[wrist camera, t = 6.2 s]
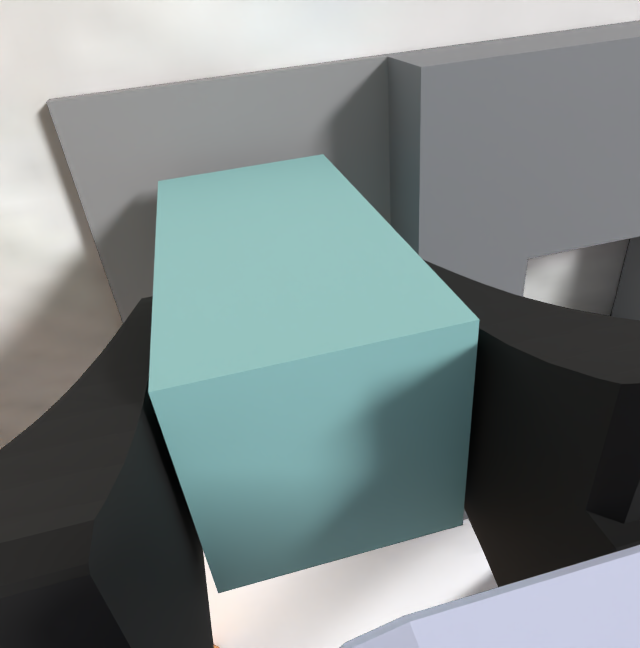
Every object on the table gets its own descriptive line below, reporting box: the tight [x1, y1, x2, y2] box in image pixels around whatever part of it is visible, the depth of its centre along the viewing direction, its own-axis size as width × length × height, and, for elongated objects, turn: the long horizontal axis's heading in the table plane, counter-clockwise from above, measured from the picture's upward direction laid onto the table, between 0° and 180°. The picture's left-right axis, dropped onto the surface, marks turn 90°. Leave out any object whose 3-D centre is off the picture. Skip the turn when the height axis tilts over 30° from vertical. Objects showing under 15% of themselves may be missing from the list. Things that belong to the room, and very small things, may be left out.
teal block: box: [148, 154, 479, 593], centre depth 11 cm, size 4×4×8 cm
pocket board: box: [384, 21, 640, 520], centre depth 18 cm, size 16×12×2 cm
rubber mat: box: [46, 55, 391, 323], centre depth 15 cm, size 8×8×1 cm
